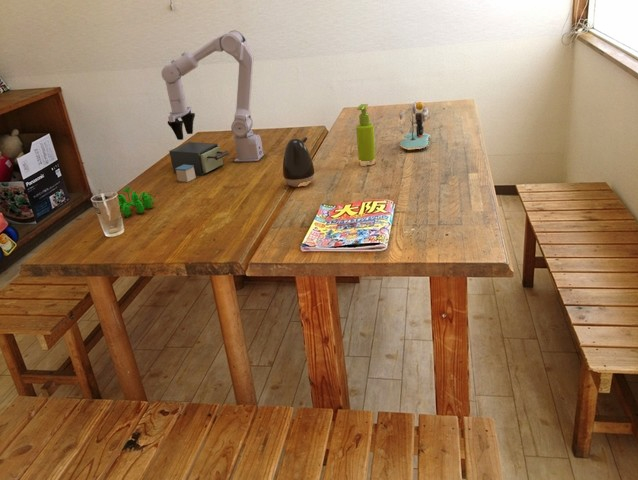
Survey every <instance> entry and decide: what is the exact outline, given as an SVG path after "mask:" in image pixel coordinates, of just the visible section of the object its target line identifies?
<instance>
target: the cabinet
mask: <svg viewBox="0 0 638 480" xmlns="http://www.w3.org/2000/svg"><path fill="white" fill-rule="evenodd" d="M213 147H214V148H216V147H219V145H218V143H213V142H197V141H195V142H194V141H188V142H186V143H184V144H181V145H179V146H177V147H174V148H172V149H170V150H168V153H169V156H170V161H171V167H172V170H173V174H177V173H176V170H175V168H177V167H179V166H182V165H194V171H195V176H204V175H205V174H207V173H210V172H211V171H213V170H211V171H209V172H207V173H204V171H202V167H201V162H200V157H199V154H200V153H203V152H205V151H207V150H209V149H211V148H213Z"/></svg>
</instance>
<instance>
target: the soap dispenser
mask: <svg viewBox="0 0 638 480" xmlns="http://www.w3.org/2000/svg"><path fill="white" fill-rule="evenodd" d="M368 105H369V104H368V103H361V104H360V105H358V107H357V108H356V110H357V111H361V113H360V114H359V115H358V117H359V120H358V121H359V124H357V125H356V126H355V128H356V130H355V131H356V143H357V144H356V145H357V156H358V161H359V160H361V161H370V160H373V159H375V158H376V157H377V155H376V141H375V140H376V139H375V126H374V125H375V124H373V123H371V122H370V119H371V118H370V114H369V113H367V107H369V106H368ZM376 159H377V158H376Z"/></svg>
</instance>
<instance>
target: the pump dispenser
mask: <svg viewBox="0 0 638 480" xmlns="http://www.w3.org/2000/svg"><path fill="white" fill-rule="evenodd" d="M307 141H308V137H307V136H304V138H302V139H300V138H297V137H293V138H291V139H290V140H289V141H288V142H287V143H286V146H285V149H284V153H283V154H284V155H283V161H282V177H283V178H284V180H285V182H286V183H287V185H288V186H290V187H292V188H296V189H297V187H298V185H299V184H300V183H303V182H307V181H310V180H312V179H313V180H314V175H315V167H314V162H313V159H312V156H311V153H310V151H309V150H308V147H307V146H306V142H307ZM313 180H312V181H313Z"/></svg>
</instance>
